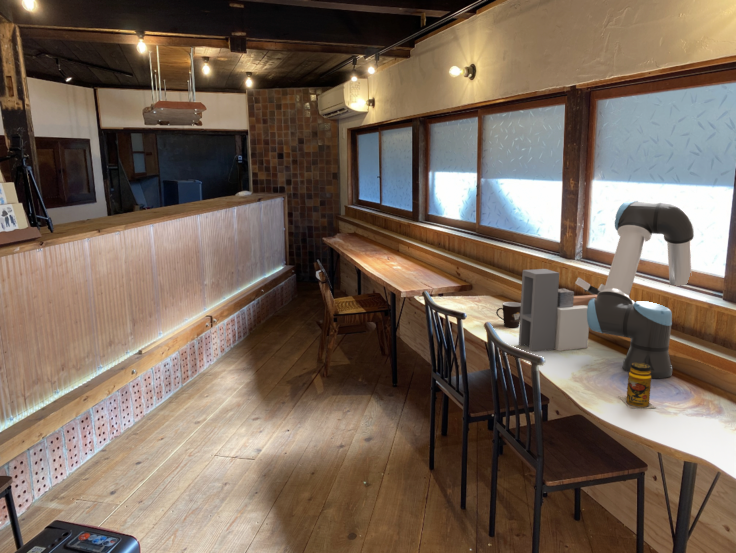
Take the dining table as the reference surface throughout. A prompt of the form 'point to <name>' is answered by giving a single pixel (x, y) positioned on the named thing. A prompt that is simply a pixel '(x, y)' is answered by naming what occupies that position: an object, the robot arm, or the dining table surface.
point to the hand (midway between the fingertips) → (588, 283)
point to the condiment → (638, 386)
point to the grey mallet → (572, 299)
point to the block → (571, 328)
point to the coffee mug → (511, 314)
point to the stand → (538, 309)
